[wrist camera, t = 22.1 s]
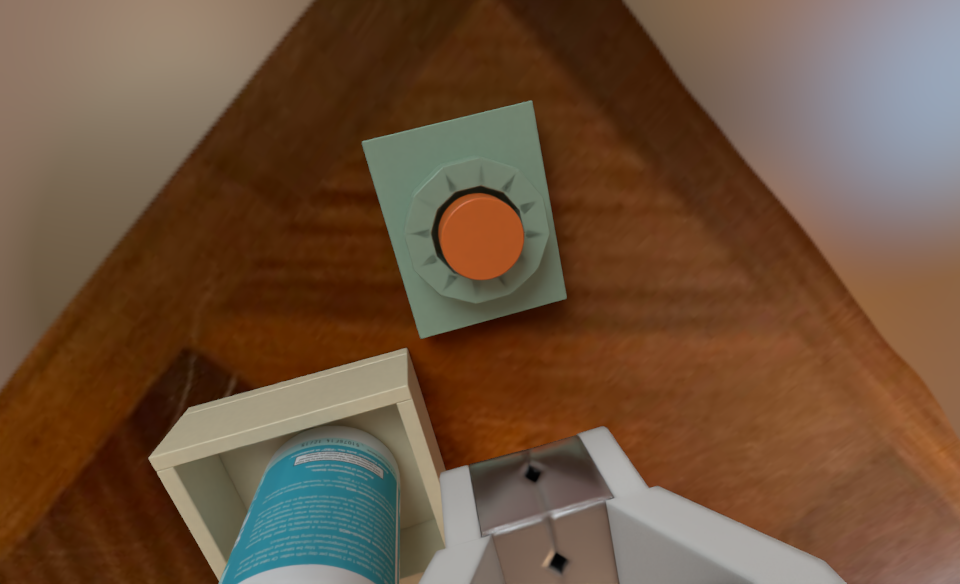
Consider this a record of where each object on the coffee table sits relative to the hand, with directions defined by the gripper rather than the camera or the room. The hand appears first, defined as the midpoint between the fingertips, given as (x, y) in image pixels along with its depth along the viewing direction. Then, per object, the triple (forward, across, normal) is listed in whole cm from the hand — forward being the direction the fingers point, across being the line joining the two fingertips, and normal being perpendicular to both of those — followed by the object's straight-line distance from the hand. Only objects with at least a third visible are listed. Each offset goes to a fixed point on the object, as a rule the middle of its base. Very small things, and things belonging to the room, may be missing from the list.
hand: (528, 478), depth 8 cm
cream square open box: (+18, +10, +11) cm, 23 cm away
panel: (+18, -1, -1) cm, 18 cm away
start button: (+15, -1, -1) cm, 15 cm away
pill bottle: (+17, +10, +11) cm, 22 cm away
